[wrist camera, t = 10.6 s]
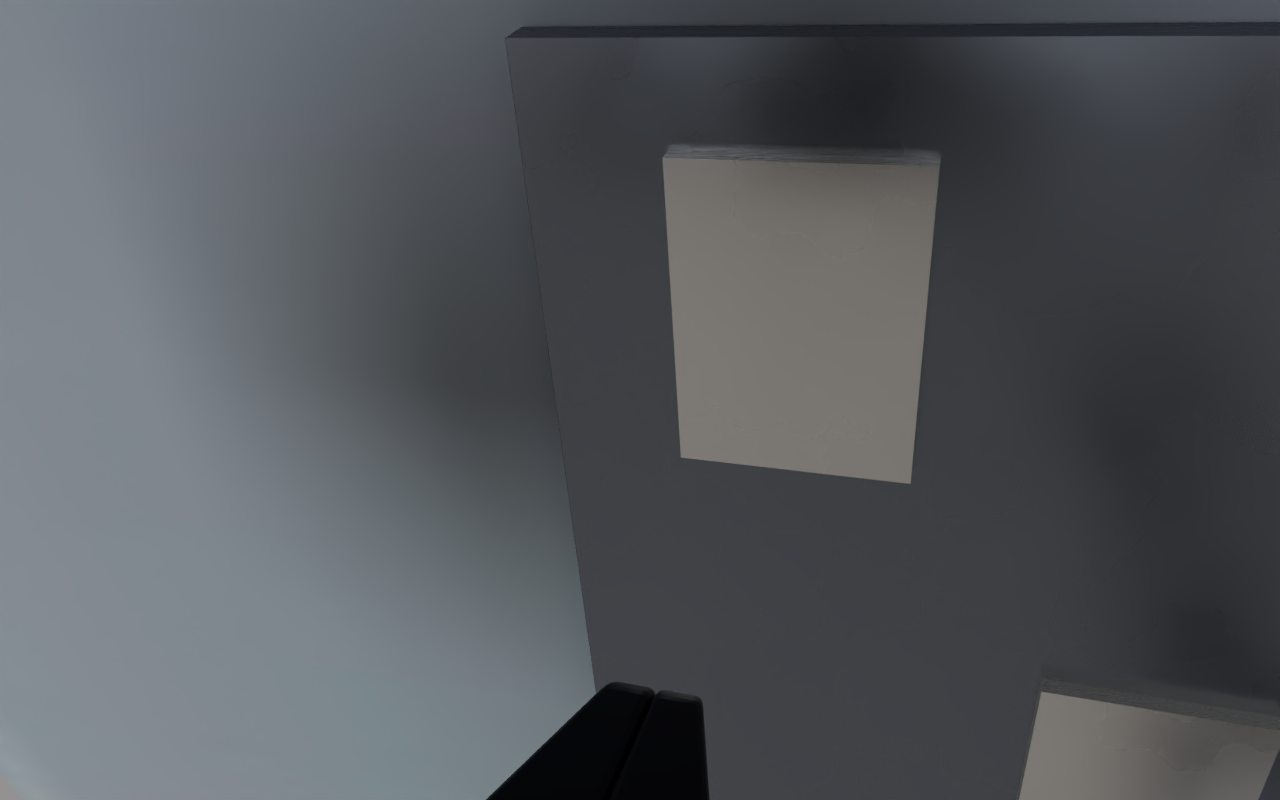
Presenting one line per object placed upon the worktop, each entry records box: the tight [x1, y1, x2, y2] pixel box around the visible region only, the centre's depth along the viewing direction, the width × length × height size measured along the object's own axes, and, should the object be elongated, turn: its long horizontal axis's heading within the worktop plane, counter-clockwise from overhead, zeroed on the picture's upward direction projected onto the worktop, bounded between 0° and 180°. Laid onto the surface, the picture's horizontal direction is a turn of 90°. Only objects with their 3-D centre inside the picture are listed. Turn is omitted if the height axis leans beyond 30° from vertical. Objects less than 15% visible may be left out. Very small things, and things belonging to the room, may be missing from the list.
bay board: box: [505, 23, 1280, 800], centre depth 17 cm, size 18×14×1 cm
